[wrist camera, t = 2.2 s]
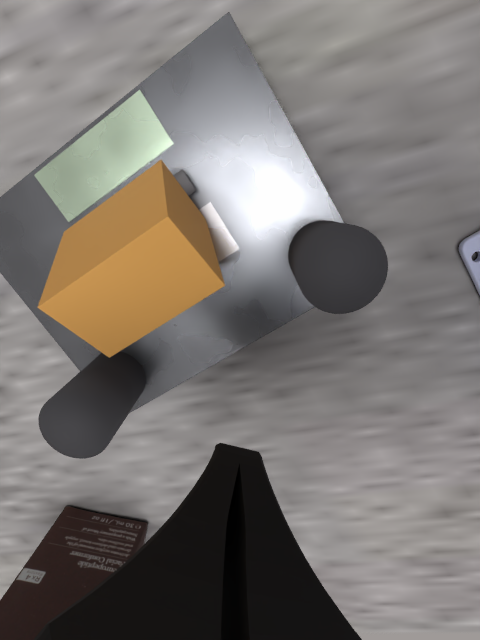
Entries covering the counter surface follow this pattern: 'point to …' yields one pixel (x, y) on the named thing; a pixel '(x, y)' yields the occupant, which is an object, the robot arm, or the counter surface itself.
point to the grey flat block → (210, 198)
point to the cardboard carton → (133, 263)
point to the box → (67, 568)
